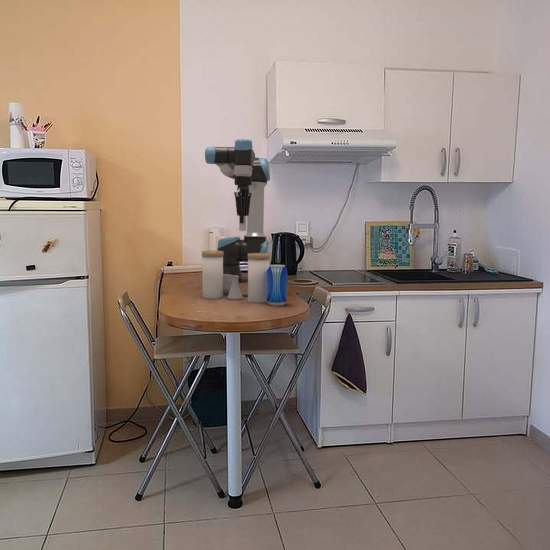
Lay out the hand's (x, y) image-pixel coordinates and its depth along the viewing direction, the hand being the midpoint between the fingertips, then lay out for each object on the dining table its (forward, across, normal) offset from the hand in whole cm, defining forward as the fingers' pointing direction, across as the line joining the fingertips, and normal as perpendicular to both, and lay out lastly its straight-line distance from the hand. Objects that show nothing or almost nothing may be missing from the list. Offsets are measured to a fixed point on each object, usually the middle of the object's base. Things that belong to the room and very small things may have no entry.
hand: (242, 230), depth 237 cm
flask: (+29, -6, 0) cm, 30 cm away
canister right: (+29, -7, -11) cm, 32 cm away
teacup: (+29, +8, +14) cm, 33 cm away
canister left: (+29, -6, +11) cm, 32 cm away
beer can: (+29, -11, -21) cm, 37 cm away
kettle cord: (+29, 0, 0) cm, 29 cm away
